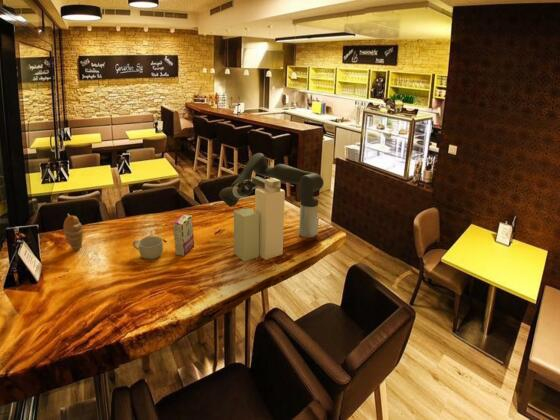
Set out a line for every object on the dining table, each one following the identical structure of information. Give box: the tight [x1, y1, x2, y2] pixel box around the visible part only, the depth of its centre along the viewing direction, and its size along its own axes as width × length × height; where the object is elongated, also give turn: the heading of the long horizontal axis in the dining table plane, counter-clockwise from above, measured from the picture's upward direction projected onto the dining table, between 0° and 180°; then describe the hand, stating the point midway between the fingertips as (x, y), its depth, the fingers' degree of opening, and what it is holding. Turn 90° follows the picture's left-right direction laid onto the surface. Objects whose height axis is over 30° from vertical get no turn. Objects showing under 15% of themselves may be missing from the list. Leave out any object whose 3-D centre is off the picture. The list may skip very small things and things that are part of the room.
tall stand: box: [254, 187, 286, 261], centre depth 179 cm, size 10×9×32 cm
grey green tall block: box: [233, 207, 260, 262], centre depth 178 cm, size 8×9×22 cm
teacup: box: [132, 235, 164, 260], centre depth 177 cm, size 14×11×8 cm
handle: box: [251, 175, 282, 193], centre depth 175 cm, size 5×17×5 cm, turn 37°
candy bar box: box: [172, 214, 195, 257], centre depth 182 cm, size 11×5×16 cm, turn 168°
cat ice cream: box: [62, 213, 84, 251], centre depth 179 cm, size 9×8×18 cm
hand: (258, 180), depth 179 cm, fingers open, 8 cm apart
